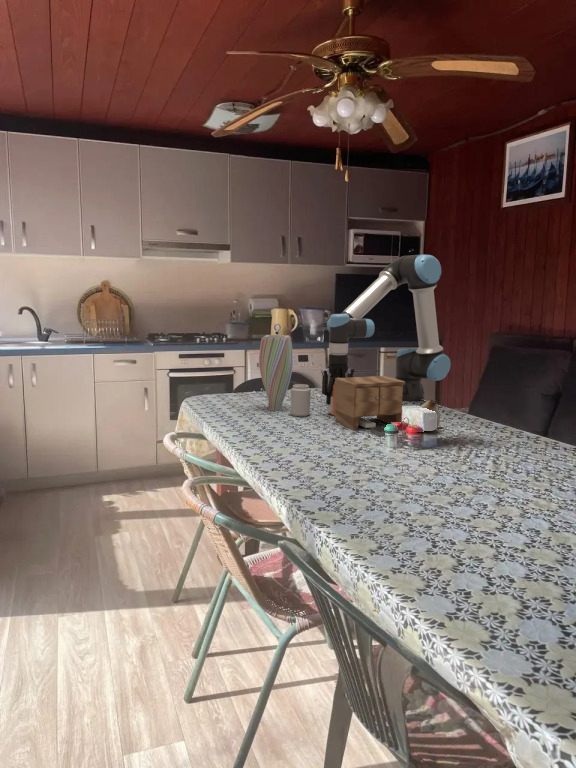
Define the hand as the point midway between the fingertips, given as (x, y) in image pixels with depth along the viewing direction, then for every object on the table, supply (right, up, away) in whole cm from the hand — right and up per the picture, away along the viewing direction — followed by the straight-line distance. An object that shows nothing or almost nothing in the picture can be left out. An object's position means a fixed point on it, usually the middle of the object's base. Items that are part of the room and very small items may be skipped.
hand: (336, 411), depth 233 cm
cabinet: (+10, -4, -15) cm, 19 cm away
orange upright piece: (+5, -2, -11) cm, 12 cm away
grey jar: (-15, -1, -3) cm, 15 cm away
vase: (-25, +1, +8) cm, 26 cm away
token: (+13, -7, -30) cm, 34 cm away
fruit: (+29, -6, -25) cm, 39 cm away
